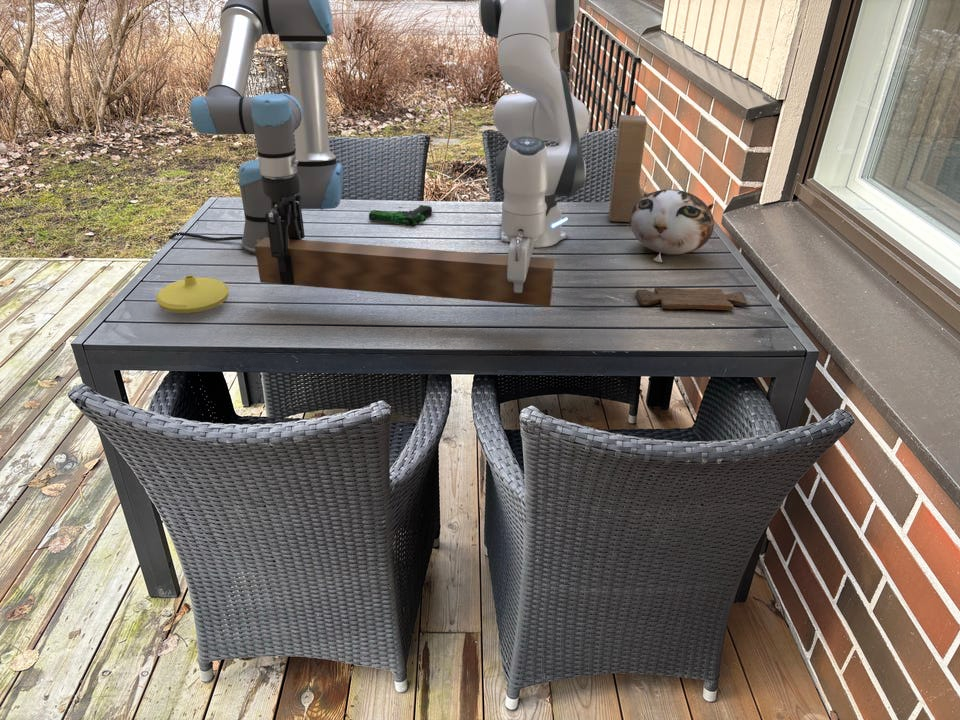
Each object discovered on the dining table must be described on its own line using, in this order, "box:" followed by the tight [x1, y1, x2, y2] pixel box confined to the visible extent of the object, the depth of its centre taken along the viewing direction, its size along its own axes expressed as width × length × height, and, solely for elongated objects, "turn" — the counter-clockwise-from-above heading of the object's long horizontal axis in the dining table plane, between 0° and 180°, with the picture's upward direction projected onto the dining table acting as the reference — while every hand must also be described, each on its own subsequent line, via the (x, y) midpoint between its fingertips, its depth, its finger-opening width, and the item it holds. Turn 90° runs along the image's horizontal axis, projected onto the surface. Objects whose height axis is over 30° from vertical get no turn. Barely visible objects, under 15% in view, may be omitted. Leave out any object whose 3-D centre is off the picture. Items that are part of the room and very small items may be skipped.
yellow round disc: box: [155, 274, 230, 315], centre depth 163 cm, size 16×16×7 cm
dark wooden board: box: [635, 287, 748, 311], centre depth 169 cm, size 26×2×10 cm
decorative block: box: [608, 114, 651, 223], centre depth 211 cm, size 8×15×30 cm, turn 82°
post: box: [255, 237, 555, 307], centre depth 154 cm, size 64×5×9 cm, turn 81°
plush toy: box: [629, 188, 715, 263], centre depth 192 cm, size 22×18×20 cm
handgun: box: [368, 204, 433, 227], centre depth 216 cm, size 16×3×15 cm
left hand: (292, 277), depth 159 cm, fingers closed on post, 5 cm apart
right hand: (520, 284), depth 151 cm, fingers closed on post, 5 cm apart
